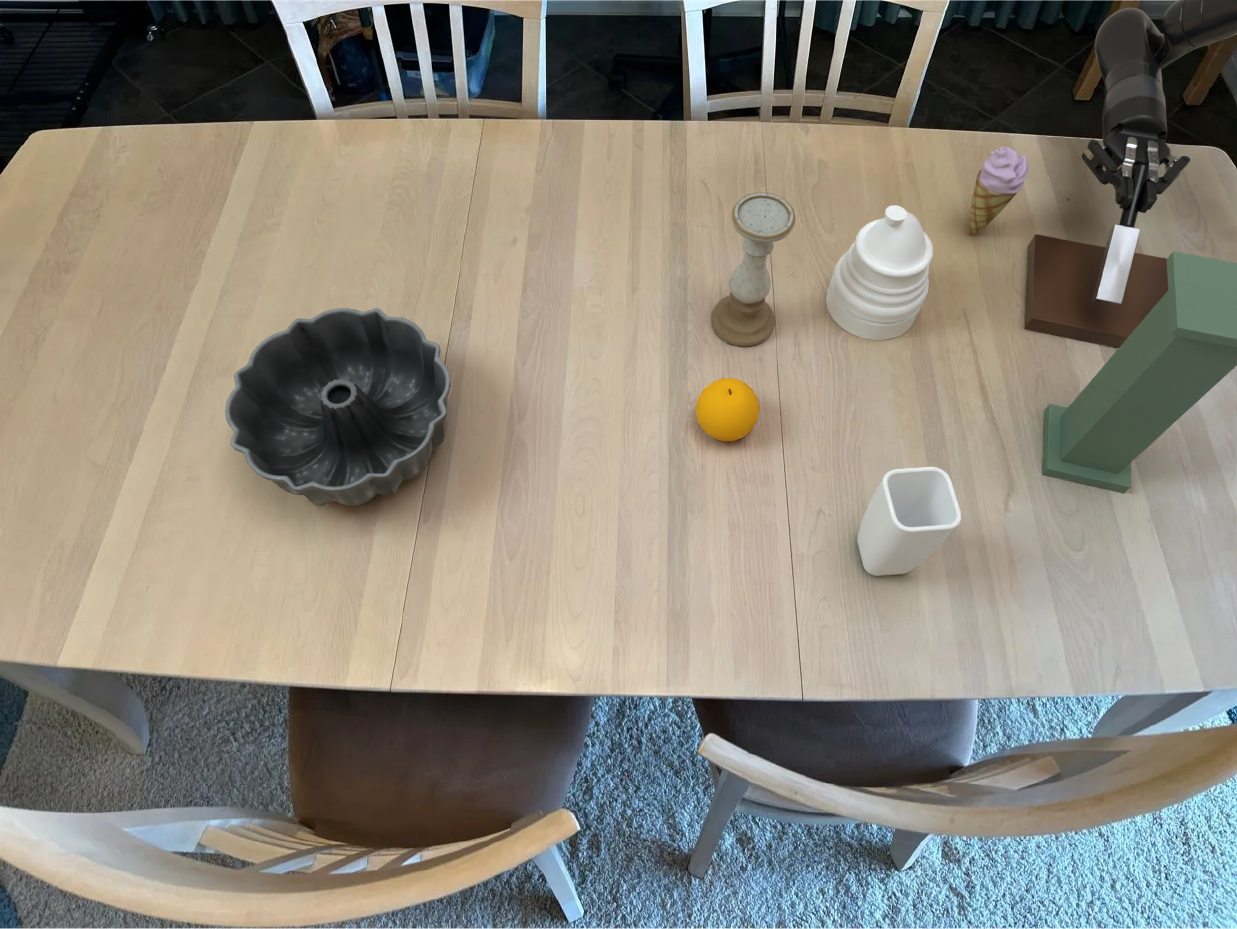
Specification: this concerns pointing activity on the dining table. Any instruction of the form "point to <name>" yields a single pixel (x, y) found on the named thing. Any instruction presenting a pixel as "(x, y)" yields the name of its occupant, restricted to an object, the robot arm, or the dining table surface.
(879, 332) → the honey pot
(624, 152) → the dining table surface
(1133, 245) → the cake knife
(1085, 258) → the cutting board
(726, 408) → the orange
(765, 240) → the candle holder
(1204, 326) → the stand
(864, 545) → the cup
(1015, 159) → the ice cream cone
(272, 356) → the bundt pan
